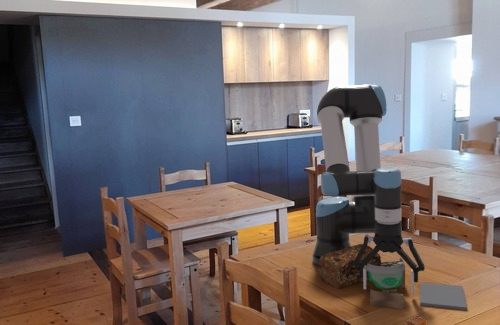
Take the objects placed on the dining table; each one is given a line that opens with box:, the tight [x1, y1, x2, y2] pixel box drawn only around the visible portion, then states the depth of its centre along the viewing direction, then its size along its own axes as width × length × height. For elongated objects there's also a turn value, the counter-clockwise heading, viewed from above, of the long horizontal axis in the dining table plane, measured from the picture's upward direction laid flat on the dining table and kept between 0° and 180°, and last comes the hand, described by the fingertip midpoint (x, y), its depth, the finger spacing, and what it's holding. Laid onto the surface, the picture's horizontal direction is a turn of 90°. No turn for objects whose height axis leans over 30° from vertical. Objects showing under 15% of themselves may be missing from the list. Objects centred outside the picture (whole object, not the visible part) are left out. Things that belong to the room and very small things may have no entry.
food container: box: [366, 257, 406, 294], centre depth 138 cm, size 12×6×10 cm, turn 105°
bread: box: [318, 243, 383, 289], centre depth 153 cm, size 19×11×10 cm, turn 117°
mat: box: [419, 281, 468, 311], centre depth 136 cm, size 12×15×1 cm
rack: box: [369, 269, 406, 310], centre depth 138 cm, size 9×16×6 cm, turn 160°
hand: (388, 289), depth 138 cm, fingers open, 13 cm apart
